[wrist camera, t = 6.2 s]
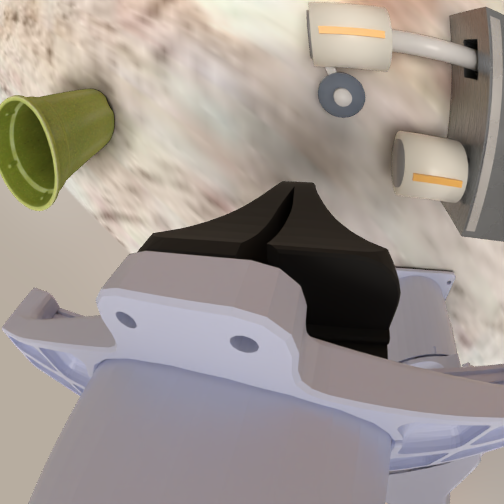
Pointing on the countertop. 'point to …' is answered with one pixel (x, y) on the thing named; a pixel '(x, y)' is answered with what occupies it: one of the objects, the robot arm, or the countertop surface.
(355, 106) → the potentiometer
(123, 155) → the countertop surface
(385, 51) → the knob
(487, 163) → the panel
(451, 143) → the knob
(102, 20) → the countertop surface
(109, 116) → the plant pot
